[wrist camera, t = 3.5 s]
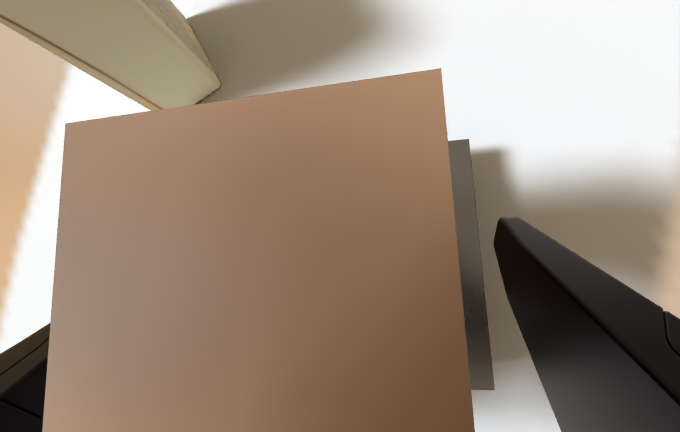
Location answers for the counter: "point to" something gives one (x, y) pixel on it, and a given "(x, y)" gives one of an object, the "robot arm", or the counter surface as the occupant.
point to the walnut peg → (261, 267)
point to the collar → (470, 267)
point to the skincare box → (121, 45)
